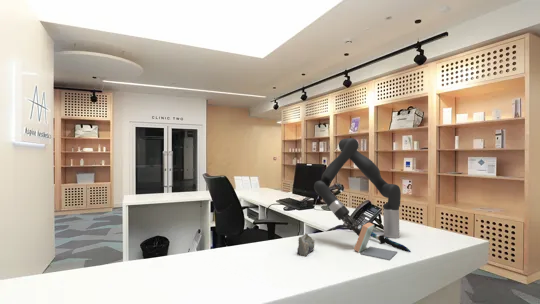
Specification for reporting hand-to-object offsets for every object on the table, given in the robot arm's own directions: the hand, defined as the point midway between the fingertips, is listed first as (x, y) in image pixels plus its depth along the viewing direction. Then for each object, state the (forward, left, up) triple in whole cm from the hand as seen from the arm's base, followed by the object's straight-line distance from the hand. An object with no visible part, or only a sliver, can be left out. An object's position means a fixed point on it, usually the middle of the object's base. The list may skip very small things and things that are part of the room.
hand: (360, 234), depth 146 cm
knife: (-18, +8, -8) cm, 21 cm away
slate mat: (0, +9, -8) cm, 12 cm away
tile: (0, 0, -7) cm, 7 cm away
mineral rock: (+22, -20, -8) cm, 31 cm away
